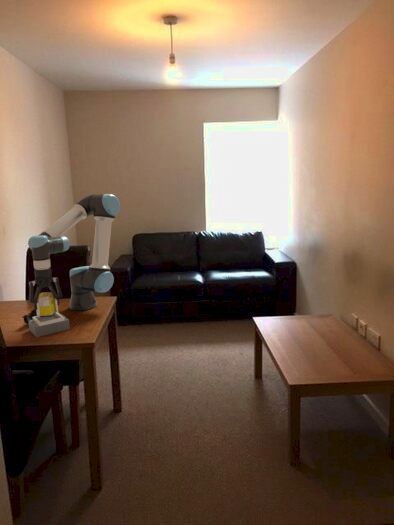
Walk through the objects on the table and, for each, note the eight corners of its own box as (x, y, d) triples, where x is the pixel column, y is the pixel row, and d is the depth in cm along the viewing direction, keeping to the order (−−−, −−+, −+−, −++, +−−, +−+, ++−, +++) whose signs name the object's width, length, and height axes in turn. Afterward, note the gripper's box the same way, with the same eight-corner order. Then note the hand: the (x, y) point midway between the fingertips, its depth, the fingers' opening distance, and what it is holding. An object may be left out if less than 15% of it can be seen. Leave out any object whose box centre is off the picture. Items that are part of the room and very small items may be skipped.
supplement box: (55, 313, 210) (53, 291, 208) (52, 316, 204) (49, 295, 202) (43, 313, 210) (41, 292, 208) (39, 317, 204) (37, 295, 202)
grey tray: (61, 323, 218) (60, 310, 217) (69, 329, 208) (68, 316, 207) (29, 330, 209) (28, 317, 208) (36, 337, 199) (34, 324, 198)
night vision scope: (47, 320, 231) (58, 309, 228) (27, 332, 214) (38, 321, 211) (37, 309, 231) (48, 298, 228) (16, 320, 214) (28, 309, 211)
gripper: (61, 263, 211) (66, 307, 216) (17, 270, 200) (23, 316, 204) (66, 266, 205) (71, 311, 210) (21, 272, 194) (27, 320, 198)
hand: (47, 313), depth 207 cm, fingers closed on supplement box, 8 cm apart
